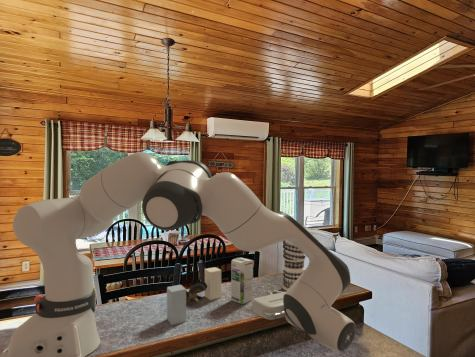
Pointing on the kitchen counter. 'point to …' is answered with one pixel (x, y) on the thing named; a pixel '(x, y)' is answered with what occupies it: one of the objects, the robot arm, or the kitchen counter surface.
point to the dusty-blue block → (176, 304)
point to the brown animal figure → (195, 291)
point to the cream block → (213, 283)
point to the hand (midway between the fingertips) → (270, 292)
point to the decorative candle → (292, 264)
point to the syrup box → (241, 280)
